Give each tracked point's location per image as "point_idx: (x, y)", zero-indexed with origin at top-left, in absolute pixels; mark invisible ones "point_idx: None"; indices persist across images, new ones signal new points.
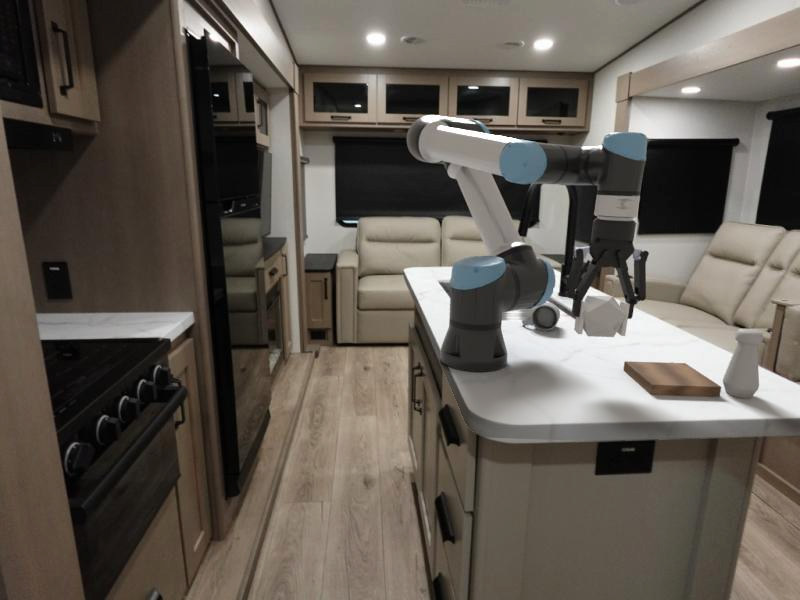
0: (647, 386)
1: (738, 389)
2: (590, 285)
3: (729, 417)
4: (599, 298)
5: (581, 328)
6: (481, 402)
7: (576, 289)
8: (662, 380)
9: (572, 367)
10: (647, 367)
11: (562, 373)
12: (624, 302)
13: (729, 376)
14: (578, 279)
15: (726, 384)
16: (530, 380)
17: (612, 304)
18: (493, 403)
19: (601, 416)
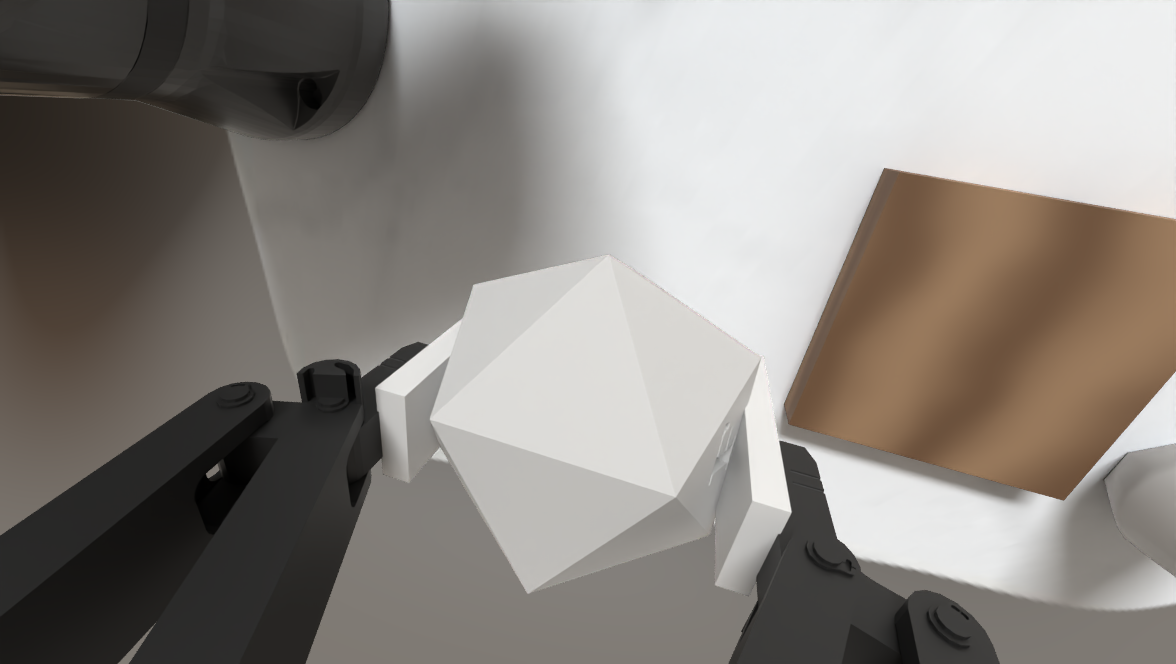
0: (796, 388)
1: (1118, 527)
2: (320, 616)
3: (890, 560)
4: (498, 520)
5: None
6: (307, 346)
7: (276, 449)
8: (869, 403)
9: (651, 109)
10: (946, 271)
11: (575, 179)
12: (744, 549)
13: (1156, 525)
14: (147, 630)
15: (1122, 493)
16: (443, 231)
17: (575, 578)
18: (332, 357)
19: None
